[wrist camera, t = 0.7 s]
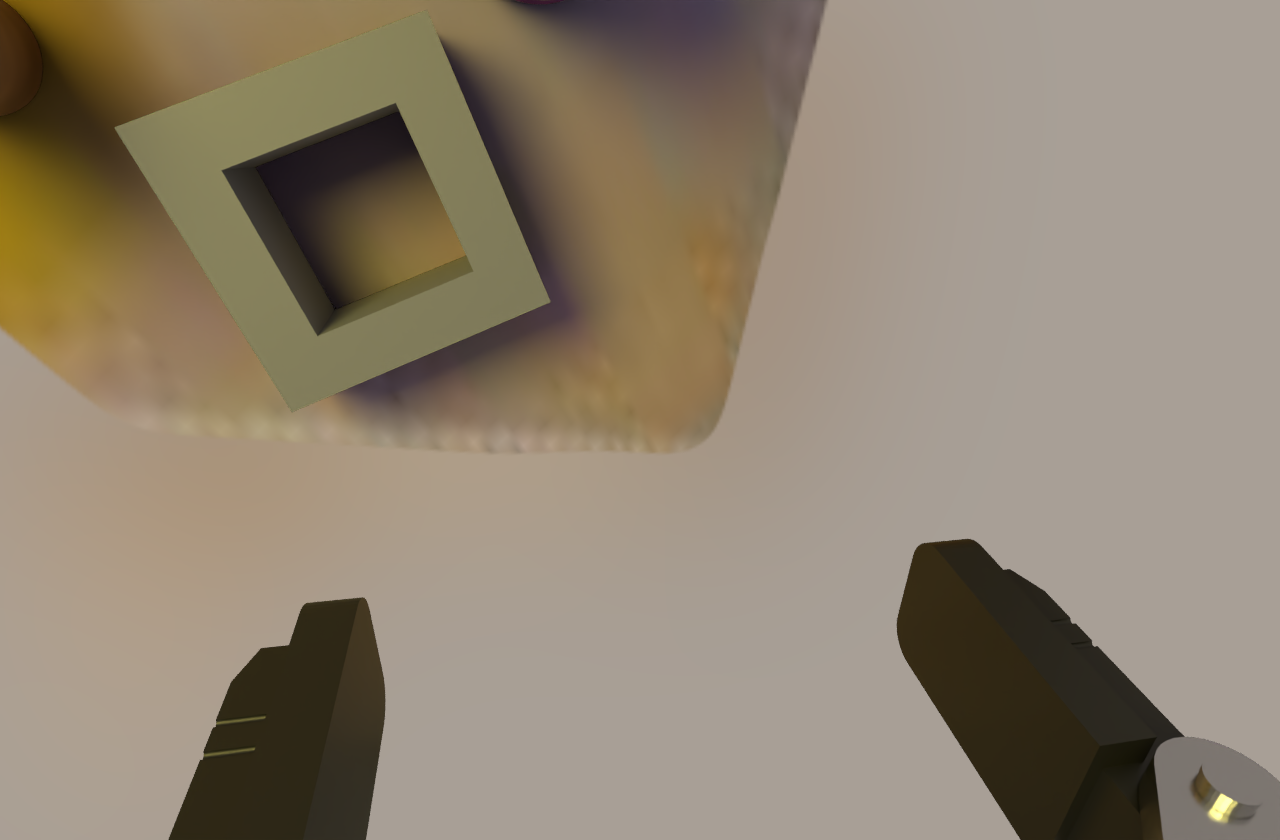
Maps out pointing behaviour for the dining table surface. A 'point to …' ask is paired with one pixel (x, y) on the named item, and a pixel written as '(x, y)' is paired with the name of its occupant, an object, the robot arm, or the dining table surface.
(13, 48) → the green capped wooden peg
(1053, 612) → the robot arm
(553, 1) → the beverage can
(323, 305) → the socket block
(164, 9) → the dining table surface
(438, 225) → the dining table surface
